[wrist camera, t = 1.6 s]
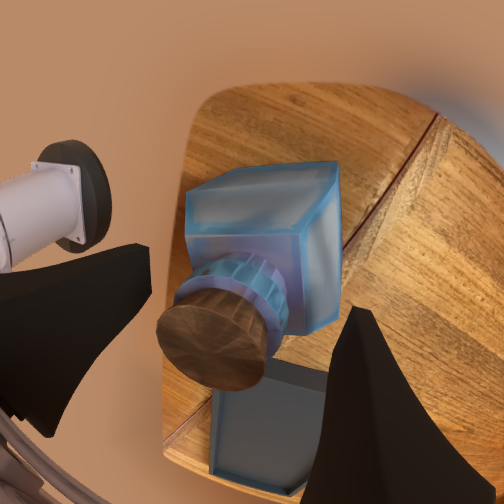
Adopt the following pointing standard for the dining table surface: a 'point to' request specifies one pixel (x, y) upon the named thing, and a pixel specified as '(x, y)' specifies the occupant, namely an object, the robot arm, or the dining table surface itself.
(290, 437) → the tray
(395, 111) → the dining table surface
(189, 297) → the perfume bottle
